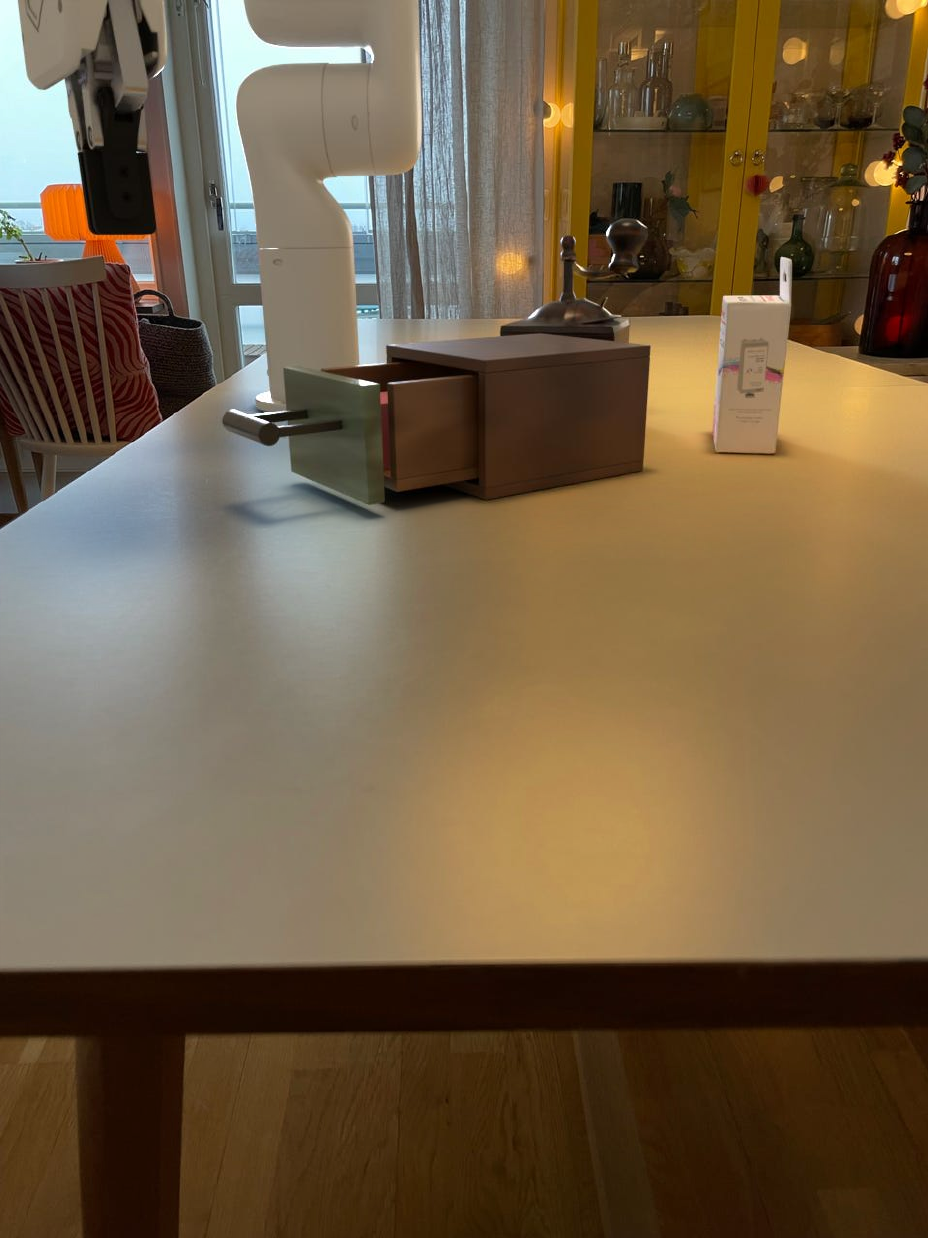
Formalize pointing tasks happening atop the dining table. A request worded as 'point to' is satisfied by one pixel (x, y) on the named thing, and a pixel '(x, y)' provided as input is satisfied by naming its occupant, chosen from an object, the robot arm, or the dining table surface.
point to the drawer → (374, 426)
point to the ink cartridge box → (752, 369)
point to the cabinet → (548, 407)
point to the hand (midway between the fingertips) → (123, 233)
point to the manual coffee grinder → (582, 313)
